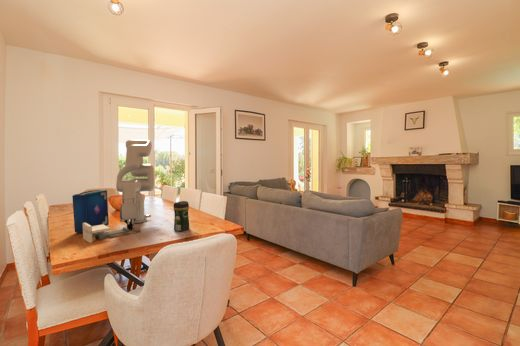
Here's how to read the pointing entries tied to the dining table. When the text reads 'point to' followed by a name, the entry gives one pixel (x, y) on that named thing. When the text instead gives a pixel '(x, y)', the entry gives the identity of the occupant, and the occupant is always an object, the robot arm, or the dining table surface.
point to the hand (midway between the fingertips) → (130, 229)
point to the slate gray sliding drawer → (111, 233)
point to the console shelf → (92, 231)
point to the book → (90, 209)
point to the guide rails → (125, 233)
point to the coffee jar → (181, 216)
